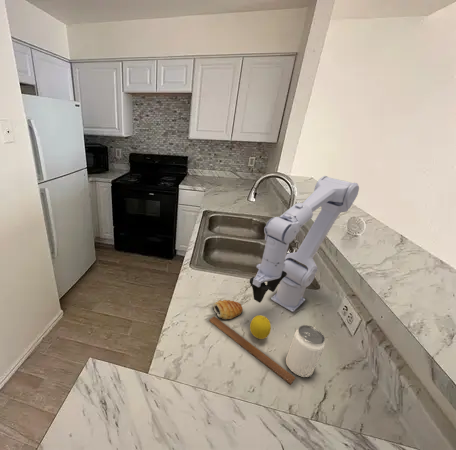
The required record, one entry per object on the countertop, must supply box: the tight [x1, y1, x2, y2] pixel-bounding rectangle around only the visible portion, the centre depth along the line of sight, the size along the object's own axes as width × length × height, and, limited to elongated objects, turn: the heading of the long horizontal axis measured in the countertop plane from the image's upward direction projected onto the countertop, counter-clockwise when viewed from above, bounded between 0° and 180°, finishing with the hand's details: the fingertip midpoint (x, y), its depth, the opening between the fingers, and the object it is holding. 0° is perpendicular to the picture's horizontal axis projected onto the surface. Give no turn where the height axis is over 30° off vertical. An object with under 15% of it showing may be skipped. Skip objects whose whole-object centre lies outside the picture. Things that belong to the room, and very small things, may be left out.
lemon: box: [249, 314, 272, 340], centre depth 74 cm, size 6×6×8 cm
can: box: [285, 324, 326, 378], centre depth 65 cm, size 6×6×12 cm
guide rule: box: [208, 316, 296, 386], centre depth 72 cm, size 2×26×1 cm, turn 39°
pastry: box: [212, 299, 243, 320], centre depth 84 cm, size 9×7×4 cm
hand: (264, 295), depth 78 cm, fingers open, 7 cm apart
